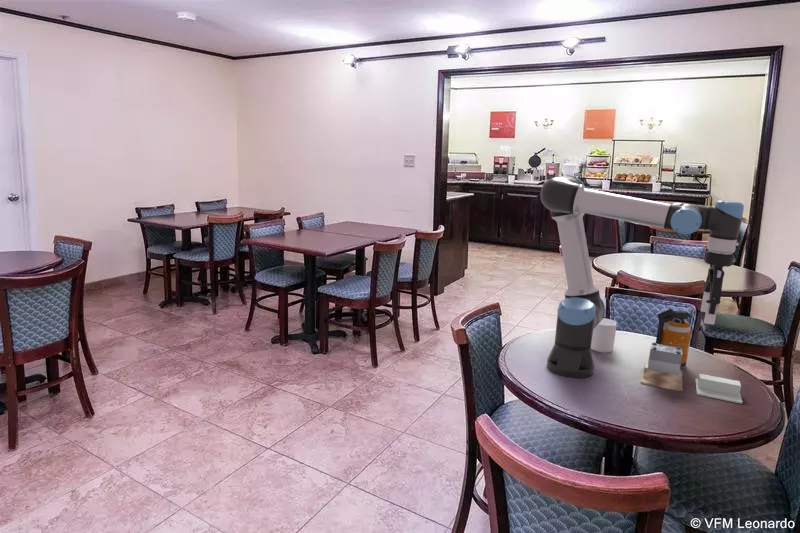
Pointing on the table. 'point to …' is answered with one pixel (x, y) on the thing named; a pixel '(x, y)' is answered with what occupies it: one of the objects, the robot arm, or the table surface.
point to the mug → (604, 336)
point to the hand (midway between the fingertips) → (706, 317)
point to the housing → (665, 358)
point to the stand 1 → (661, 379)
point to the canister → (675, 331)
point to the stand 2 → (718, 388)
